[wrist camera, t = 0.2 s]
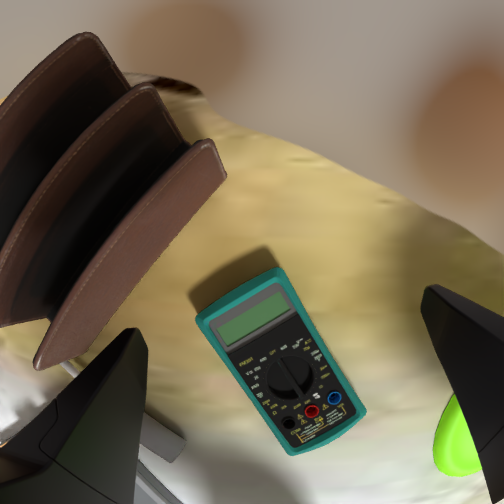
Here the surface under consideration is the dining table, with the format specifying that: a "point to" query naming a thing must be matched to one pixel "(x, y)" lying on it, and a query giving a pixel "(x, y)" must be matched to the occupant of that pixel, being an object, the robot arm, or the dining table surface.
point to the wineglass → (455, 444)
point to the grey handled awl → (150, 431)
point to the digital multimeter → (281, 362)
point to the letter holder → (88, 193)
